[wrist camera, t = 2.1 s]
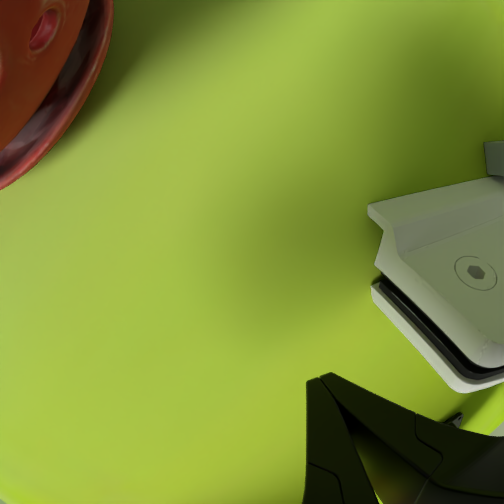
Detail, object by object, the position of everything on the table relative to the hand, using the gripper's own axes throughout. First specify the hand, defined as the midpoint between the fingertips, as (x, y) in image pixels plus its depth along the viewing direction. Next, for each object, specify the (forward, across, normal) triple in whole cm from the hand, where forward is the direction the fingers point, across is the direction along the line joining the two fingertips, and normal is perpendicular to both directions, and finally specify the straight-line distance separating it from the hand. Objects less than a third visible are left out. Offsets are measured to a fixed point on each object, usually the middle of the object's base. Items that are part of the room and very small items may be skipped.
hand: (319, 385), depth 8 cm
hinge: (+6, -13, 0) cm, 14 cm away
